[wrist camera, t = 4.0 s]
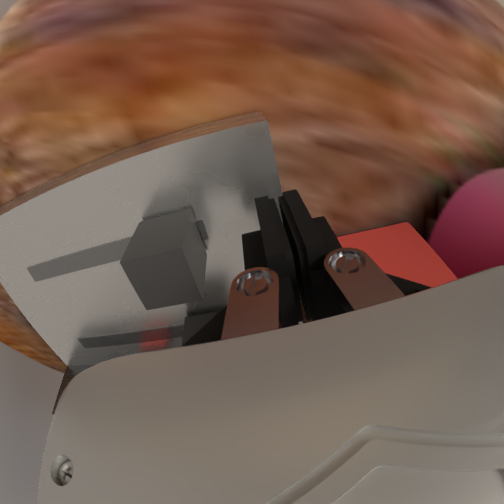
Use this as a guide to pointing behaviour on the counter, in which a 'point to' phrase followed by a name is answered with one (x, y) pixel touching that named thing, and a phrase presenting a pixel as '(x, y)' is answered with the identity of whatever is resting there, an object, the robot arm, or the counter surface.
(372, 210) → the counter surface
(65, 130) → the counter surface
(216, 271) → the grey slider control panel
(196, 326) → the block
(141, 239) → the block
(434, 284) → the matte red cuboid
